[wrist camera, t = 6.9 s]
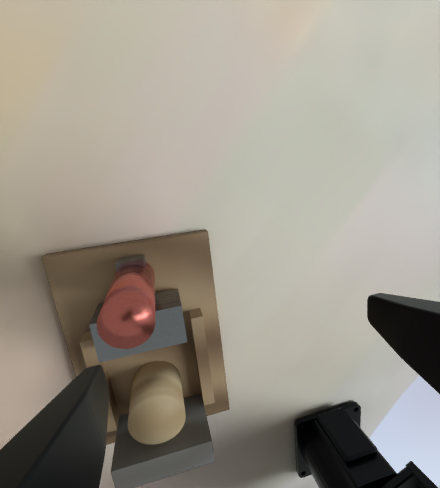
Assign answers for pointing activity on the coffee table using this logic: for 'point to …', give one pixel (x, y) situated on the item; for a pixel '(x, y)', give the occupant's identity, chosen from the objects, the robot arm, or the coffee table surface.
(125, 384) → the beige mounting plate
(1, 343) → the coffee table surface
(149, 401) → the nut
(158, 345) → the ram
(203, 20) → the coffee table surface
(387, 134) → the coffee table surface
